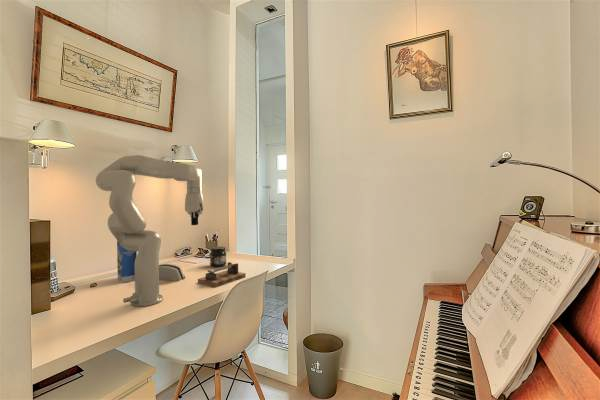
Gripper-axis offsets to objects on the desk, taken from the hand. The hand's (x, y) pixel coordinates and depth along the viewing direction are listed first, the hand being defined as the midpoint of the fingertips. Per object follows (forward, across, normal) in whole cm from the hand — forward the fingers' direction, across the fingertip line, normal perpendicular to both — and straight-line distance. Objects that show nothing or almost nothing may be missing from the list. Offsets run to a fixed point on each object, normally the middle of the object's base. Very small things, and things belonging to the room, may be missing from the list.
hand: (194, 224), depth 158 cm
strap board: (+31, +9, +11) cm, 34 cm away
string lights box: (+31, -37, -17) cm, 51 cm away
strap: (+25, +9, +11) cm, 29 cm away
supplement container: (+31, -18, +32) cm, 48 cm away
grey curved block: (+32, -18, -4) cm, 36 cm away
